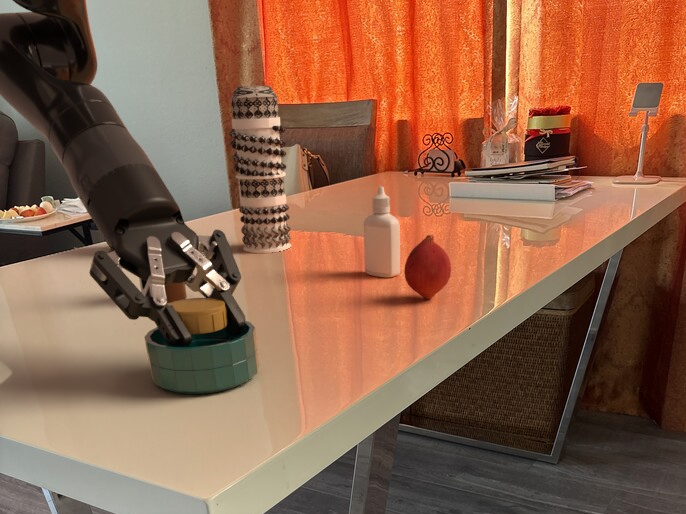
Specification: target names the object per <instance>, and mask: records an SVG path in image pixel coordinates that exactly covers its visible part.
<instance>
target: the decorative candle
mask: <svg viewBox="0 0 686 514" xmlns="http://www.w3.org/2000/svg"><path fill="white" fill-rule="evenodd" d="M230 103H231V106H230V107H231V113H232V114H231V115H232V118H231V129H230V130H229V132H228V135H229V136H230V137H231V139H233V140H231V141H230V142H229V144H230V146H231V148H233V149H234V150H236V151H235V152H234V153H233V155H232V159H233V161H234V162H235V164H234V165H233V170H234V171H235V172H237V173H236V175H235V178H236V179H238V182H239V191H240V196H239V203H240V206H239V208H238V210H239V213H241V214H242V216H240V218H239V221H240V222H241V223H243V225H242V227H241V228H240V231H241V233H242V235H243V236H242V239H241V240H242V243H243V244H244V246H243V251H244V252H246V253H252V254H271V253H272V252H273V253H280V252H279V251H281V252H284V251H283V250H285V251H287V250H286V249H288V248H290V247H291V248H292V244H291V243H290V242H291V240H292V236H291V234H290V233H289V232H290V231H291V229H292V228H291V226H290V224H289V223H288V222H287V221H288V220H290V217H291V216H290V215H289V214H288V213H286V212H287V211H288V210H289V209H290V207H289V205H288V204H287V193H286V191H285V179H284V178H285V177H286V176H287V174H286V171H285V170H286V169H287V165H286V164H284V163H283V161H282V159H283V158H284V157H285V156H286V155H287V152H286V150H285V151H284V149H282V148H284V147H285V146H286V141H285V140H283V139H282V138H281V135H282V134H284V133H285V132H286V128H285V127H284V126H282V125H281V117H280V116H279V114H280V113H279V100H278V95H277V94H276V93H275V91H274V89H273V88H272V87H271V86H270V85H247V86H246V85H245V86H242V85H241V86H237V87H235V88H234V90H233V93H232V95H231V97H230ZM291 248H290V249H291ZM288 250H289V249H288Z"/></svg>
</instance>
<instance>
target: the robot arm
mask: <svg viewBox="0 0 686 514" xmlns="http://www.w3.org/2000/svg"><path fill="white" fill-rule="evenodd" d="M12 2H14V3H15V4H16V5H18V6H19V7H21V8H23V9H25V10H27V11H22V12H21V11H18V12H0V97H2V98H3V100H4V101H5V102H6V103H8V104H9V106H10V107H11V108H13V109H14V110H15V111H16V112H17V113H18V114H19V115H20V116H21V117H23V118H24V119H25V120H26V121H27V122H28V123H29V124H30V125H31V126H32V127H33V128H34V129H35V130H36V131H37V132H39V133H40V134H41V135H42V136H43V137H44V138H45V139H46V141H47V143H48V144H49V145H50V147H51V149H52V150H53V152H54V154H55V155H56V157H57V158H58V160H59V162H60V164H61V166H63V169H64V171H65V172H66V174H67V176H68V178H69V181H70V184H71V186H72V188H73V189H74V191H75V193H76V195H77V197H78V198H79V200H80V202H81V204H82V205H83V207H84V208H85V210H86V211H87V213H88V215H89V217H90V218H91V220H92V221H93V223H94V225H95V226H96V228H97V230H98V232H99V233H100V235H101V236H102V238H103V240H104V241H105V243H106V245H107V246H108V248H109V249H110V250H111V249H112V250H113V251H112V252H110V251H109V252H106V251H103V250H97V251H95V252H94V254H93V258H92V260H91V264H90V268H89V275H90V277H91V278H92V280H94V282H95V283H96V284H97V285H98V286H99V287H100V288H101V289H102V291H103V292H104V293H105V294H106V295H107V296H108V297H109V298H110V299H111V300H112V302H113V303H114V304H115V305H116V306H117V307H118V308H119V309H120V311H121V312H122V313H123V314H124V315H125V316H126V317H127V318H128V319H129V320H133V321H136V320H138V319H139V318H141V317H142V318H148V319H149V320H150V321H153V322H154V323H155V325H156V327H158V328H159V330H160V332H161V333H162V334H163V337H164V338H165V340H166V342H167V343H168V344H169V345H170V346H171V347H189V346H190V344H191V342H192V337H191V335H190V333H189V332H188V330H187V328H186V327H185V325H184V323H183V322H182V320H181V318H180V317H179V315H178V314H177V312H176V310H175V309H174V307H173V305H170V306H168V305H167V304H168V303H167V298H166V292H165V286H167V285H169V284H171V283H184V284H185V286H187V287H188V288H189V290H191V291H192V292H194V293H197V292H198V293H199V294H201V295H202V296H203V298H215V299H219V300H222V301H224V302H225V307H226V311H227V320H228V323H227V326H226V327H225V328H226V329H227V331H228V333H229V334H230V336H232V337H233V336H237V335H240V333H241V331H242V330H243V328H244V326H245V321H247V320H246V315H245V313H244V311H243V310H242V309H241V307H240V305H239V303H238V302H237V300H236V299H235V297H234V295H233V294H234V292H235V290H236V289H237V287H238V285H239V284H240V281H241V280H242V274H241V272H240V269H239V267H238V264H237V262H236V259H235V257H234V254H233V251H232V249H231V246H230V244H229V241H228V239H227V236H226V234H225V233H224V232H223V231H222V230H221V229H214V230H213V232H212V234H211V235H198V234H197V233H196V232H195V231H194V230H193V229H192V228H190V227H189V226H188V225H187V224H186V223H185V220H184V218H183V214H182V211H181V209H180V206H179V204H178V203H177V202H176V199H175V198H174V196H173V195H172V193H171V191H170V190H169V189H168V187H167V185H166V183H165V182H164V180H163V179H162V177H161V176H160V174H159V172H158V171H157V169H156V167H155V166H154V164H153V163H152V161H151V160H150V158H149V157H148V154H147V153H146V152H145V150H144V149H143V148H142V147H141V146H140V144H139V143H138V142H137V140H136V139H135V138H134V137H133V136H132V134H131V133H130V131H129V130H128V128H127V126H126V125H125V124H124V122H123V120H122V119H121V117H120V116H119V114H118V112H117V111H116V109H115V106H113V103H112V102H111V101H110V99H109V98H108V96H107V95H105V94H104V92H103V91H102V90H100V89H99V88H97V87H96V86H94V85H92V83H93V82H94V80H95V78H96V75H97V72H98V57H97V52H96V47H95V42H94V39H93V36H92V35H93V34H92V31H91V26H90V20H89V15H88V14H89V13H88V8H87V0H12ZM201 252H202V253H201ZM122 269H124V270H125V271H126V272H129V273H130V274H132V275H134V276H135V277H137V278H138V279H139V280H138V281H139V285H140V289H139V288H138V287H137V286H136V285H135V283H134V282H133V281H132V280H131V279H130V278H129V277H128V275H127V274H125V272H124V271H123V270H122ZM195 269H196V270H195ZM195 271H196V274H194V272H195Z"/></svg>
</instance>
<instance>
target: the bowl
mask: <svg viewBox="0 0 686 514" xmlns="http://www.w3.org/2000/svg"><path fill="white" fill-rule="evenodd" d="M190 335H191V334H190ZM191 337H192V342H191V344H190V346H189V347H171V346H170V345H169V344H168V343H167V342H166V340H165V338H164V337H163V334H162V333H161V332H160V330H159V328H158V327H157V326H156V327H154V328H153V329H150V330H149V331H148V332H147V333H146V334H145V335H144V342H145V343H144V344H145V348H146V353H147V354H146V355H147V358H148V364H149V371H150V376H151V379H152V382H153V384H154V385H156V386H158V387H160V388H162V389H165V390H167V391H170V392H172V393H178V394H185V395H203V394H204V395H205V394H213V393H219V392H223V391H227V390H231V389H234V388H237V387H239V386H241V385H244V384H245V383H247V382H248V381H249V380H251V379H252V378H253V377H255V376H256V375H257V374H258V373H259V369H260V361H259V352H258V342H257V333H256V327H255V326H254V324H253V323H251V321H248V320H245V326H244V328H243V330H242V331H241V333H240V335H237V336H233V337H232V336H230V334H229V333H228V331H227V329H226V328H223V329H221V330H218V331H215V332H211V333H205V334H192V335H191Z"/></svg>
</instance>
